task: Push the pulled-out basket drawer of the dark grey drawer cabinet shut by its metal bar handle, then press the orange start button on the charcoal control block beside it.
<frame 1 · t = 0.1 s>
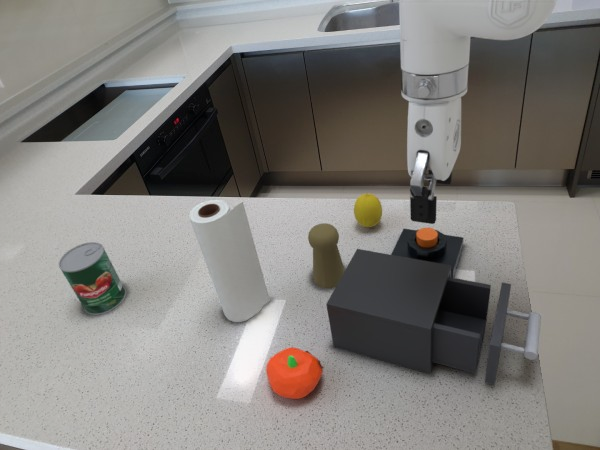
hand: (431, 200, 64), 20 cm above the table, tool pointing down, fingers open, 9 cm apart
basket drawer: (467, 324, 64), point 5 cm above the table, slide at 7.0 cm
lemon: (369, 227, 93), on the table
pumpkin: (296, 384, 66), on the table
pepper mill: (329, 278, 83), on the table
control block: (426, 256, 83), on the table
paper towel roll: (244, 311, 80), on the table
start button: (426, 237, 81), point 4 cm above the table, slide at 0.1 cm
dark grey drawer cabinet: (392, 328, 72), on the table
canned tomato: (106, 300, 88), on the table
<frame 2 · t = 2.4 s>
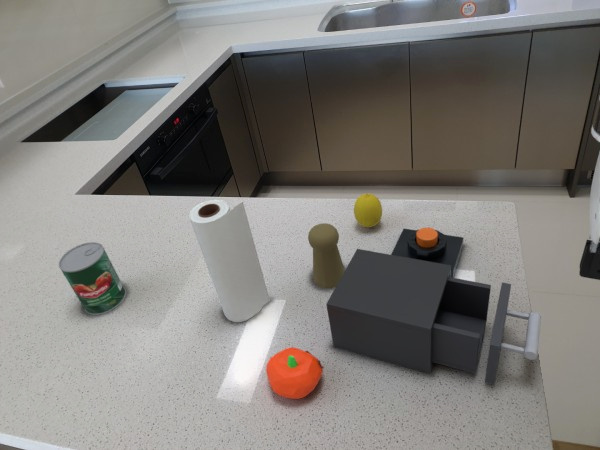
hand: (595, 274, 51), 18 cm above the table, tool pointing down, fingers closed
nothing on the table moved.
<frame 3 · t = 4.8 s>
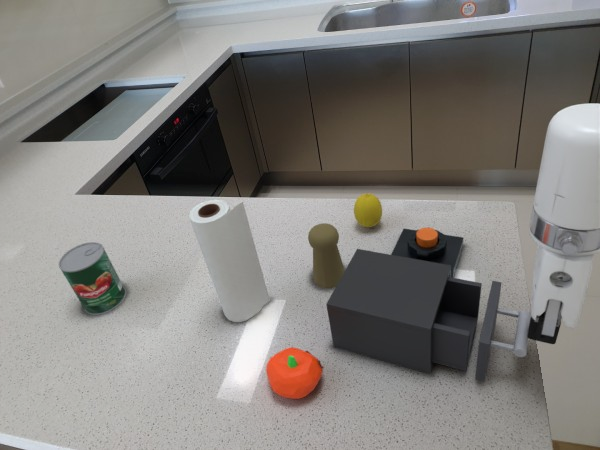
hand: (541, 336, 59), 6 cm above the table, tool pointing down, fingers closed
basket drawer: (458, 322, 65), point 5 cm above the table, slide at 5.8 cm, touching gripper
everything else where it was.
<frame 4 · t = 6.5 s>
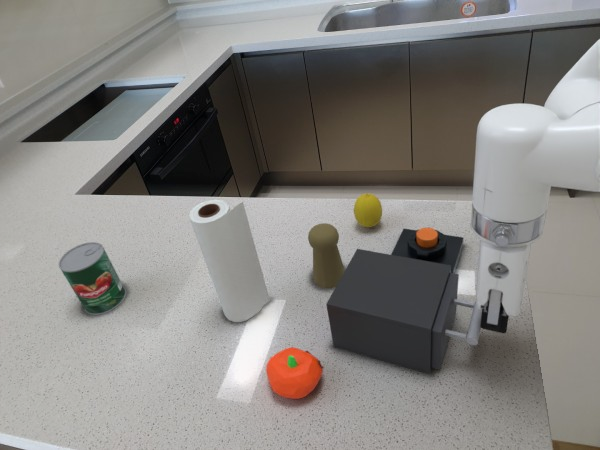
hand: (493, 326, 62), 6 cm above the table, tool pointing down, fingers closed
basket drawer: (416, 313, 67), point 5 cm above the table, slide at 0.0 cm, touching dark grey drawer cabinet, gripper
everything else where it was.
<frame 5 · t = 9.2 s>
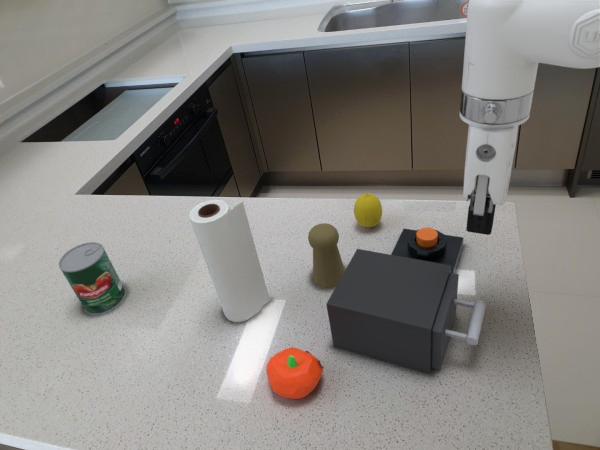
hand: (479, 229, 63), 16 cm above the table, tool pointing down, fingers closed
basket drawer: (416, 313, 67), point 5 cm above the table, slide at 0.0 cm
everything else where it was.
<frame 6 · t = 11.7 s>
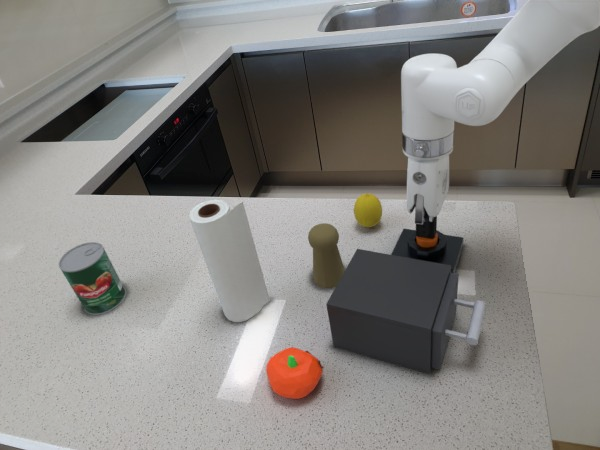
hand: (426, 234, 81), 5 cm above the table, tool pointing down, fingers closed
start button: (426, 239, 81), point 4 cm above the table, slide at -0.2 cm, touching gripper
everything else where it was.
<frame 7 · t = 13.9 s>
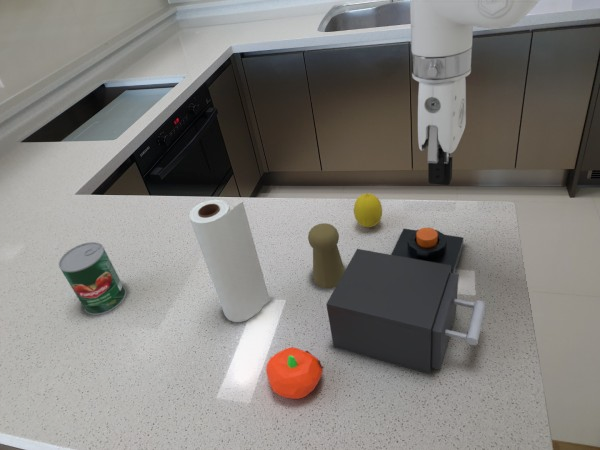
hand: (440, 181, 71), 17 cm above the table, tool pointing down, fingers closed
start button: (426, 237, 81), point 4 cm above the table, slide at 0.1 cm
everything else where it was.
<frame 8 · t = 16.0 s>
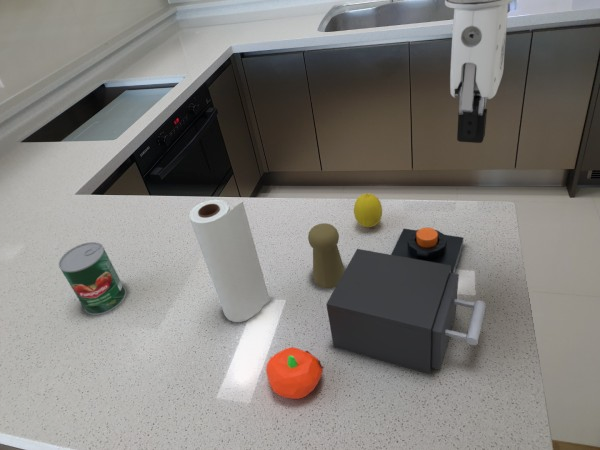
hand: (470, 139, 61), 27 cm above the table, tool pointing down, fingers closed
nothing on the table moved.
at the end: basket drawer slide at 0.0 cm; start button pushed in 1.1 cm at the most during the clip, back to where it started at the end; start button slide at 0.1 cm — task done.
